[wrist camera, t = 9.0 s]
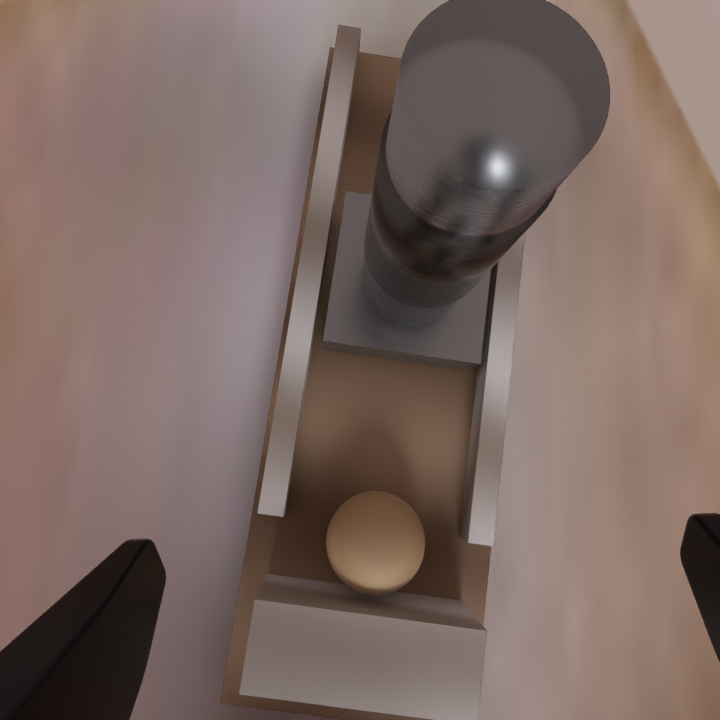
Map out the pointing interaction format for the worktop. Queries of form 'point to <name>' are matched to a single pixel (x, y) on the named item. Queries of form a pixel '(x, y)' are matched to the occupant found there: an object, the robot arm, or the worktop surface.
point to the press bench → (369, 476)
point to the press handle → (462, 175)
